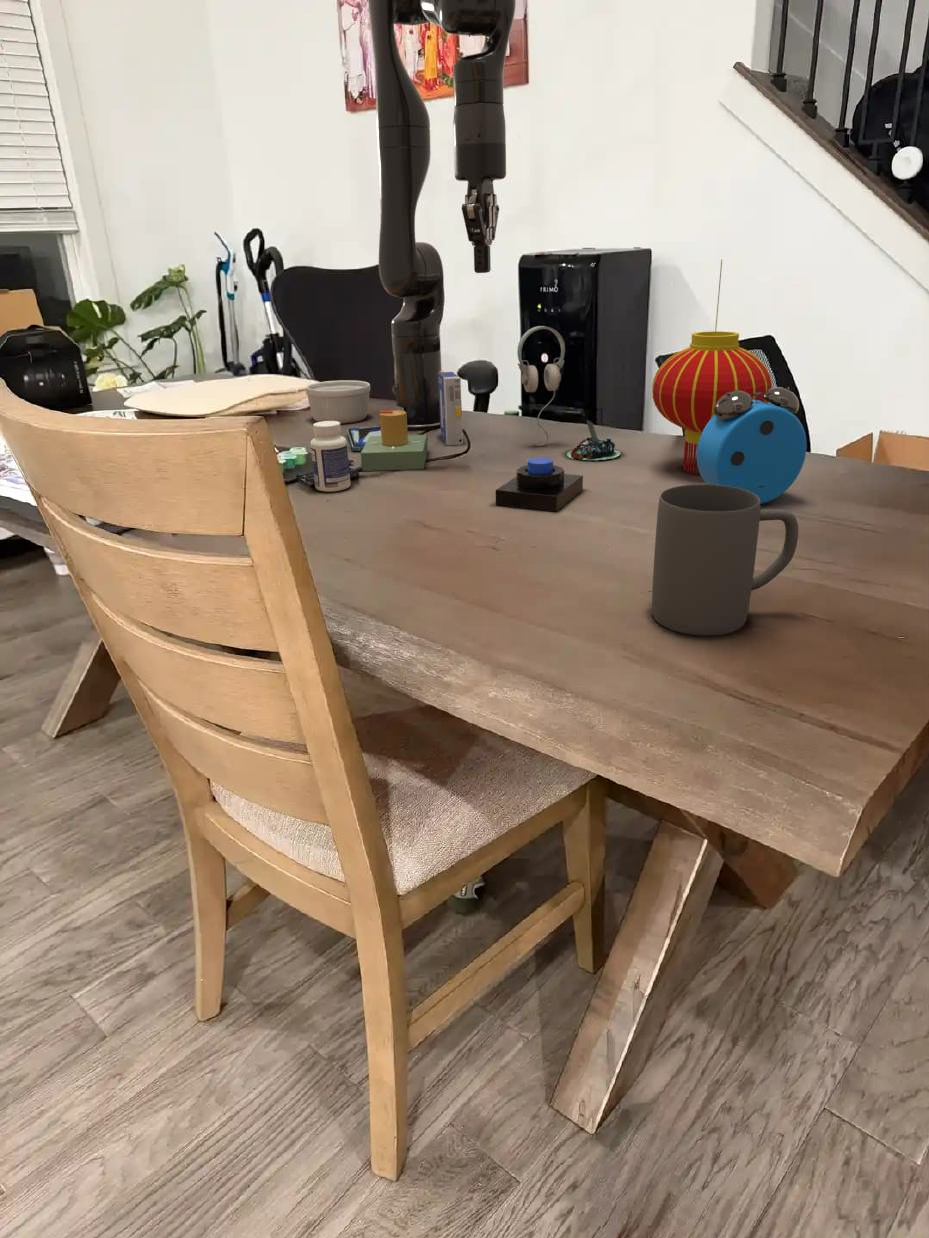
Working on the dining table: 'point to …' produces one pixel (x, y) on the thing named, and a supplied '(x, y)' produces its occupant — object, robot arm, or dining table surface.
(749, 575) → the mug
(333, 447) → the pill bottle
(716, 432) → the alarm clock
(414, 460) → the block
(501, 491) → the lamp switch
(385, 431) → the dimmer knob
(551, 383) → the headphones
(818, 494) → the dining table surface
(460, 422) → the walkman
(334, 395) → the ramekin
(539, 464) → the button
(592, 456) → the dish
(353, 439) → the smartphone
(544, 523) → the dining table surface
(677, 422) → the lantern
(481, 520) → the dining table surface
